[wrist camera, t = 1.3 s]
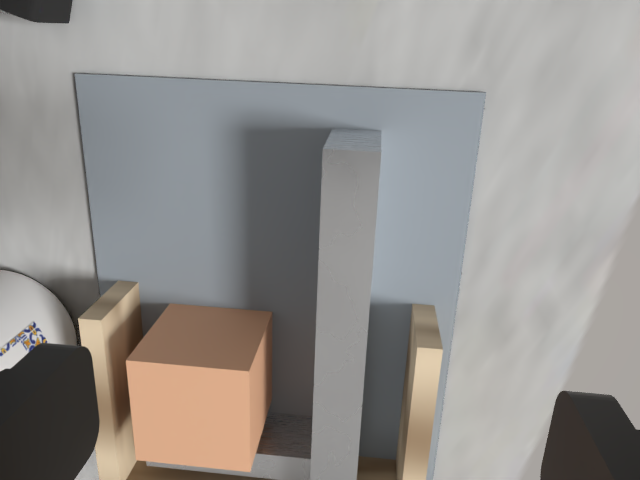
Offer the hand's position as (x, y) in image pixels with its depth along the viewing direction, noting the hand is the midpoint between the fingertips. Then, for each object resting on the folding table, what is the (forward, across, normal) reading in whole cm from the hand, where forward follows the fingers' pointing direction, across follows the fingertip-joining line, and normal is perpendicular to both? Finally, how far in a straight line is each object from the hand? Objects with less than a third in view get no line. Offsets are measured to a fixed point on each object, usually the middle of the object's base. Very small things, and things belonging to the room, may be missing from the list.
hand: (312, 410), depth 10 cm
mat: (+16, +4, +6) cm, 17 cm away
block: (+15, +6, +9) cm, 19 cm away
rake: (+15, +4, +6) cm, 17 cm away
